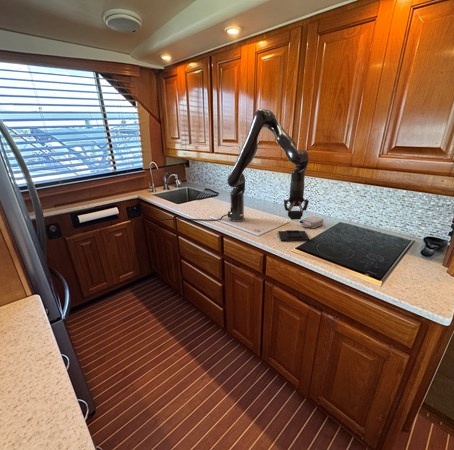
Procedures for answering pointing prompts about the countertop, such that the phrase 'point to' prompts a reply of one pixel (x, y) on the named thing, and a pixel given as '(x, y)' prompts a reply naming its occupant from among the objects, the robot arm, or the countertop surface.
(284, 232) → the base pad
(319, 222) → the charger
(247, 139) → the robot arm
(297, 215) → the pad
